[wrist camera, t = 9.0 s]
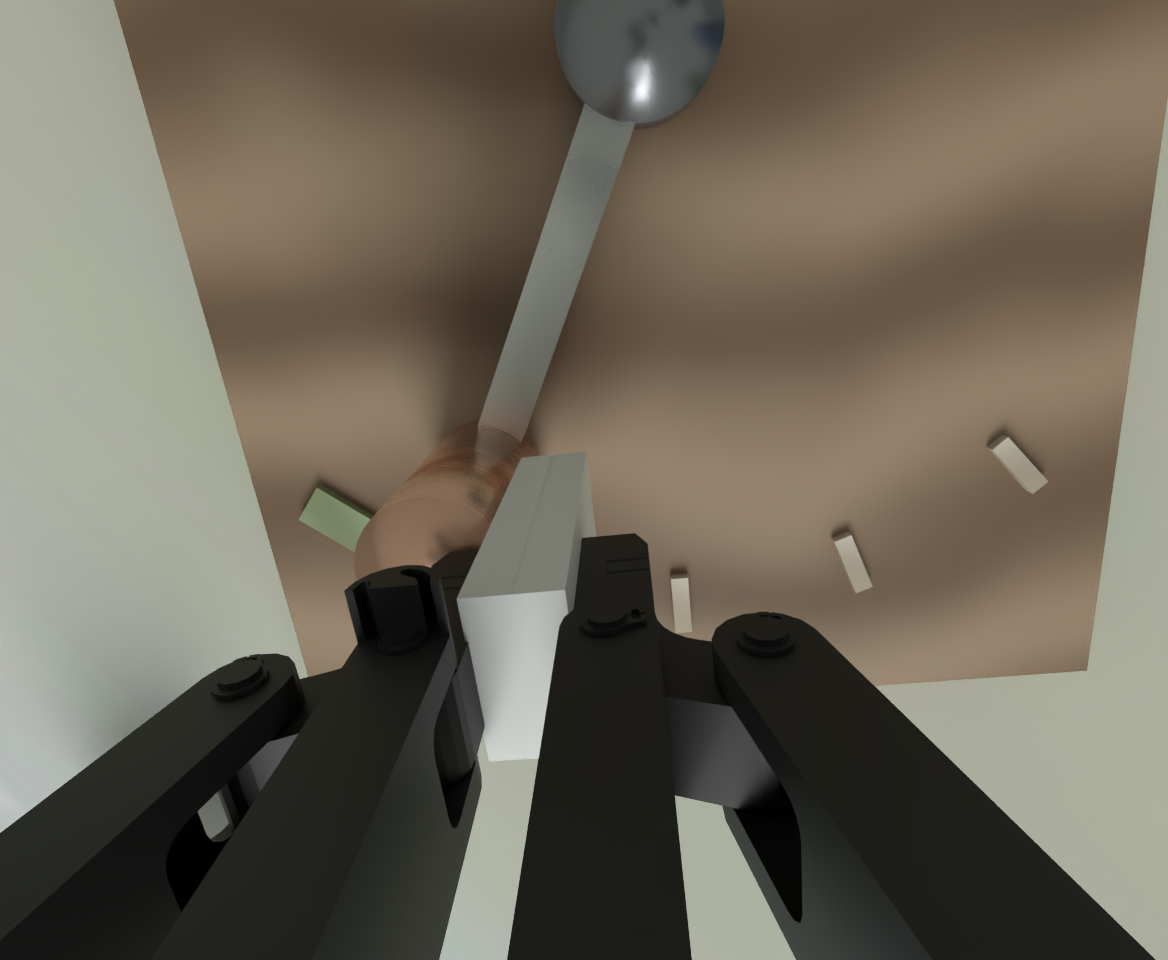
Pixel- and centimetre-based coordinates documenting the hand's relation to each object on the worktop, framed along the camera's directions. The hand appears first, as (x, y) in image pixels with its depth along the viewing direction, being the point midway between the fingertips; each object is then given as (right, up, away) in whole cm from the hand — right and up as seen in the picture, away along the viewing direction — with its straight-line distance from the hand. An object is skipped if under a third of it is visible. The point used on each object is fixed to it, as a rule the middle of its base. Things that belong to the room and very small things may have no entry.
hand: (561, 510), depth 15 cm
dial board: (+3, +6, +3) cm, 7 cm away
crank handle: (0, +6, +1) cm, 6 cm away
